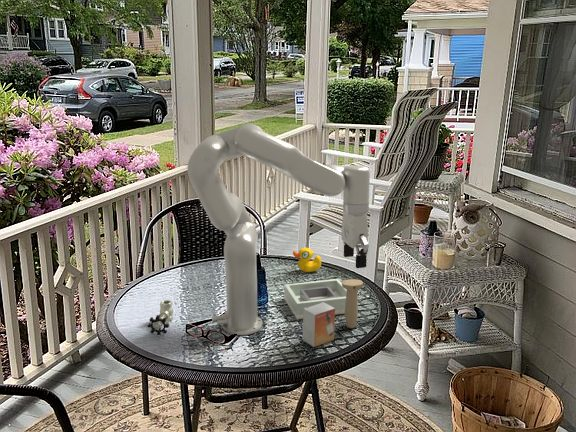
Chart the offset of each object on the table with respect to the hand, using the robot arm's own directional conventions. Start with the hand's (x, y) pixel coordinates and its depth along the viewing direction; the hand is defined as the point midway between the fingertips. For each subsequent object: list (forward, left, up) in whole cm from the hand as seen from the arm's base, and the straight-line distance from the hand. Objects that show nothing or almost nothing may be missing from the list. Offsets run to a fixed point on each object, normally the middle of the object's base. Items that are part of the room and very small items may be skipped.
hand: (354, 261), depth 162 cm
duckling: (0, +48, -22) cm, 52 cm away
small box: (-13, -5, -22) cm, 26 cm away
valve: (-57, +15, -22) cm, 63 cm away
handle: (0, 0, -22) cm, 22 cm away
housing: (-5, +17, -22) cm, 28 cm away
